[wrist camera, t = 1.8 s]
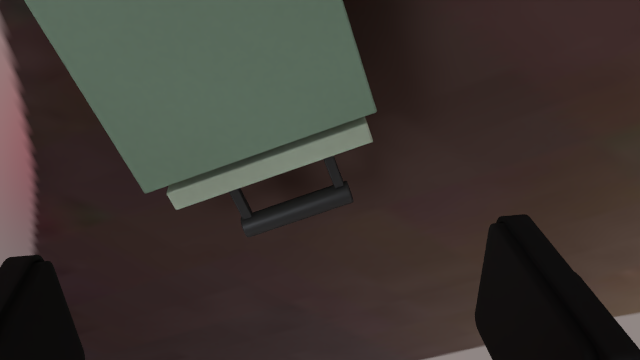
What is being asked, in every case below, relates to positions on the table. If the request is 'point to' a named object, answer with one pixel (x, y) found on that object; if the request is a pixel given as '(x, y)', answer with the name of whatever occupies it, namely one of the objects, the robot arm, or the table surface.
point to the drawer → (275, 164)
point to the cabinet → (208, 76)
